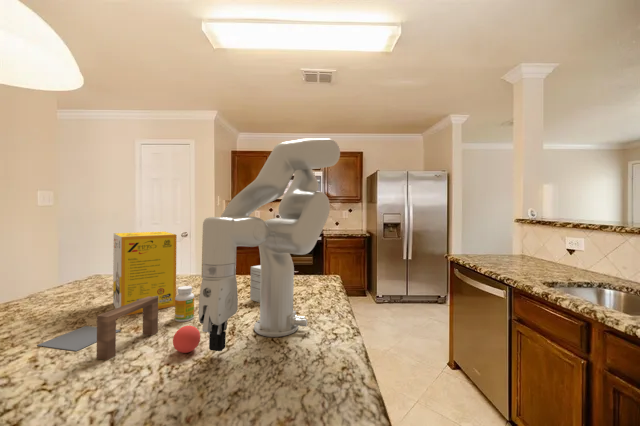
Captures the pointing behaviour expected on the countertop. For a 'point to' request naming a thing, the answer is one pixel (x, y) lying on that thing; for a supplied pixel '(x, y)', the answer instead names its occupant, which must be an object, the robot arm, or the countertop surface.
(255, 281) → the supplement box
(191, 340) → the ball
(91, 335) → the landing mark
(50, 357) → the countertop surface
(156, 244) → the packaging box
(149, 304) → the bridge
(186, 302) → the supplement bottle
